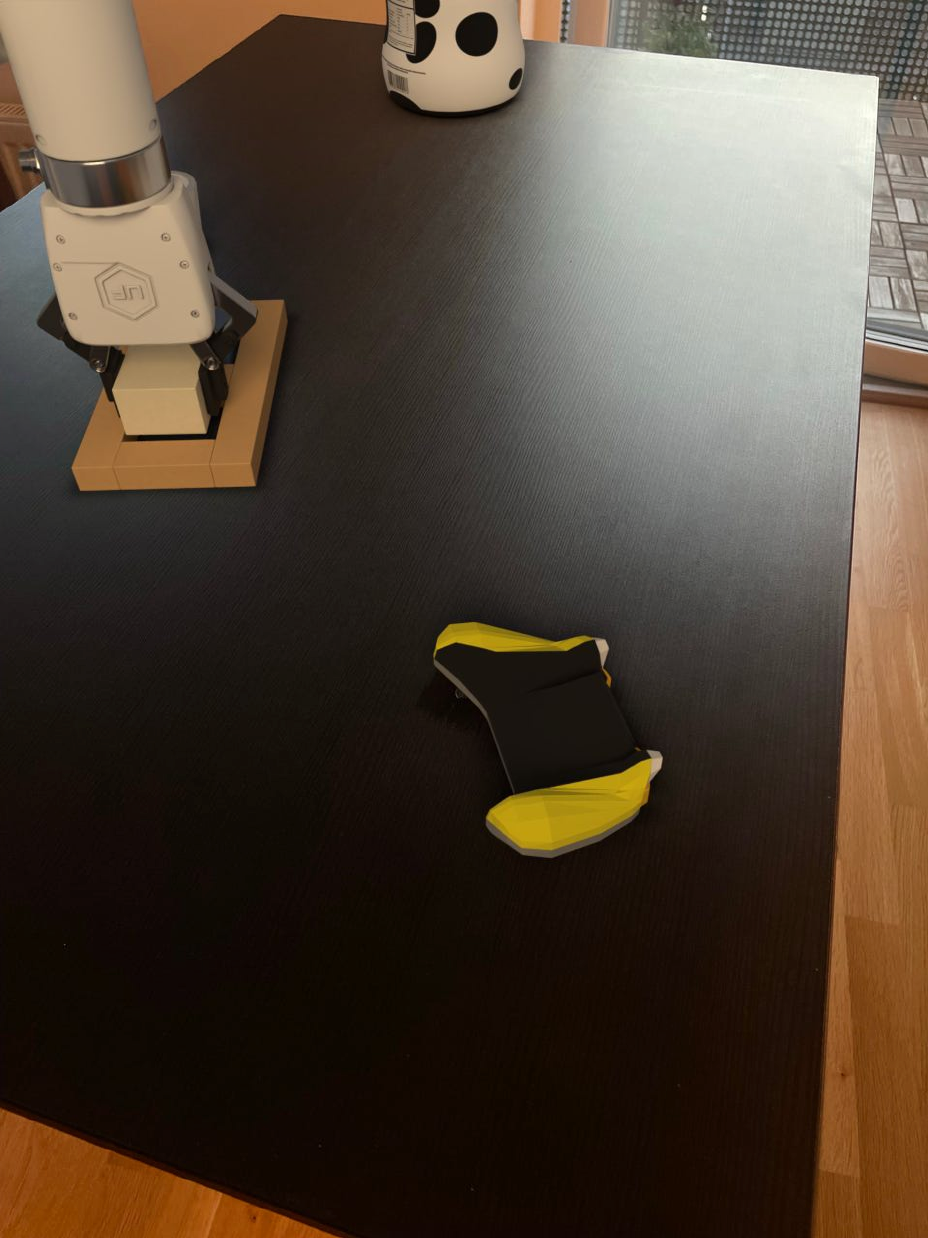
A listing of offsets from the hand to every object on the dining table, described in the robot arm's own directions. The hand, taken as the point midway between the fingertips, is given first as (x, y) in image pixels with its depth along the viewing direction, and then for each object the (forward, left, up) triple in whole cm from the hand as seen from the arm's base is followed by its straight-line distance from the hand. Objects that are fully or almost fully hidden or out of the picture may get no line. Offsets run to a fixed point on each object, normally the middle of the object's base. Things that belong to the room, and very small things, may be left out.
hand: (171, 404), depth 76 cm
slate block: (0, +10, -3) cm, 10 cm away
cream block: (0, 0, -1) cm, 1 cm away
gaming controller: (+26, -31, -3) cm, 41 cm away
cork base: (0, +5, -3) cm, 6 cm away
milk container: (+22, +68, -3) cm, 72 cm away
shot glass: (-6, +30, -3) cm, 31 cm away
